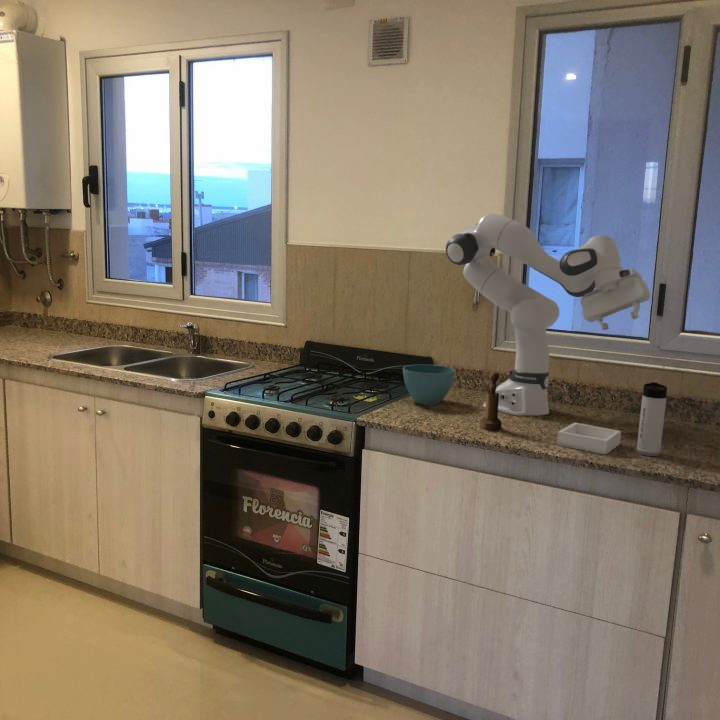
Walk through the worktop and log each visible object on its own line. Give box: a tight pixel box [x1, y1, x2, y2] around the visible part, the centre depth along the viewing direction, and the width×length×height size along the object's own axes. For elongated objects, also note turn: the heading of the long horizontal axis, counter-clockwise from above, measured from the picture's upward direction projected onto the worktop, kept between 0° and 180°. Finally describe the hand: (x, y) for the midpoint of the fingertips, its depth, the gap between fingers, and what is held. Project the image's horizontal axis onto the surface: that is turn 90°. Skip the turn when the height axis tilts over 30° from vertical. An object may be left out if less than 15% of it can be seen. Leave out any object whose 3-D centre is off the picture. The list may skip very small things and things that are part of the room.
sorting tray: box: [556, 422, 622, 456], centre depth 216 cm, size 14×14×4 cm
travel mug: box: [636, 381, 668, 457], centre depth 208 cm, size 6×7×20 cm
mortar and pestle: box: [479, 370, 502, 431], centre depth 229 cm, size 7×6×18 cm
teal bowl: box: [402, 364, 456, 406], centre depth 261 cm, size 18×18×12 cm
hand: (620, 323), depth 219 cm, fingers open, 8 cm apart
